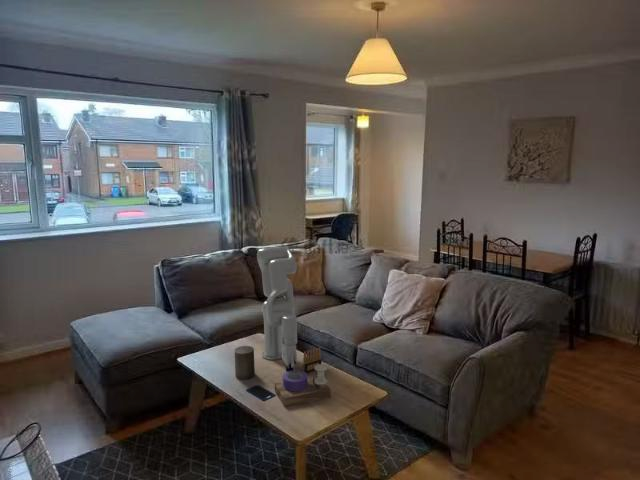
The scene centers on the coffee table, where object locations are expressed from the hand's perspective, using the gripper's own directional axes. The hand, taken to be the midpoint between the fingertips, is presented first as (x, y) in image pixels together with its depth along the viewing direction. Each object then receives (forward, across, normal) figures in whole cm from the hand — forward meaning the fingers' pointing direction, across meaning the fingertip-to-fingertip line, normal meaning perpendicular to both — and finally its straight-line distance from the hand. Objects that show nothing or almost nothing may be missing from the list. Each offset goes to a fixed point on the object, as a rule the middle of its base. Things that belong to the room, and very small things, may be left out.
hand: (289, 374), depth 229 cm
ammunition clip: (+2, -3, +13) cm, 13 cm away
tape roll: (+2, +8, 0) cm, 8 cm away
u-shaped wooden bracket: (+2, +17, 0) cm, 17 cm away
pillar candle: (+2, -11, -20) cm, 23 cm away
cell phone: (+2, +9, -17) cm, 20 cm away
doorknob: (-2, +17, +10) cm, 20 cm away
